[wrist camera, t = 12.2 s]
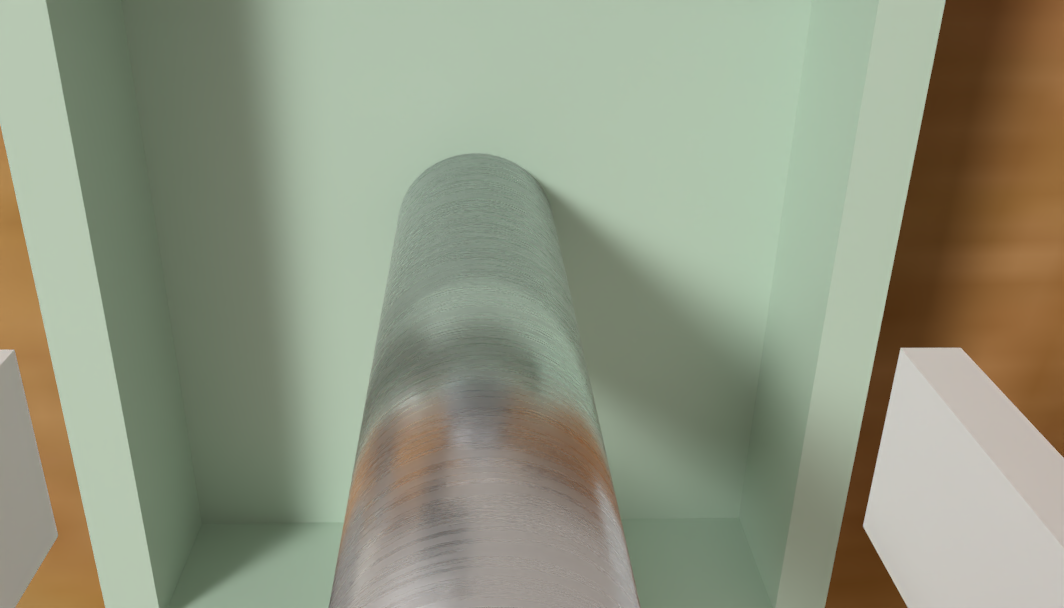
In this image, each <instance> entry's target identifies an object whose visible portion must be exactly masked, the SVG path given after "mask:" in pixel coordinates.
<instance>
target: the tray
mask: <svg viewBox="0 0 1064 608" xmlns="http://www.w3.org/2000/svg"><path fill="white" fill-rule="evenodd" d="M945 1H946V0H0V125H1V129H2V134H3V139H4V143H5V148H6V152H7V157H8V162H9V166H10V171H11V176H12V180H13V185H14V189H15V194H16V199H17V203H18V208H19V212H20V217H21V222H22V226H23V231H24V235H25V240H26V245H27V249H28V254H29V258H30V263H31V268H32V272H33V277H34V281H35V286H36V291H37V295H38V300H39V304H40V309H41V314H42V318H43V323H44V327H45V332H46V337H47V341H48V346H49V350H50V355H51V360H52V364H53V369H54V373H55V378H56V383H57V387H58V392H59V396H60V401H61V406H62V410H63V415H64V419H65V424H66V429H67V433H68V438H69V442H70V447H71V452H72V456H73V461H74V465H75V470H76V475H77V479H78V484H79V488H80V493H81V498H82V502H83V507H84V511H85V516H86V521H87V525H88V530H89V534H90V539H91V544H92V548H93V553H94V557H95V562H96V567H97V571H98V576H99V581H100V585H101V590H102V594H103V599H104V604H105V608H329V603H330V598H331V592H332V586H333V581H334V575H335V570H336V564H337V558H338V553H339V547H340V542H341V536H342V530H343V525H344V519H345V514H346V508H347V502H348V497H349V491H350V485H351V480H352V474H353V469H354V463H355V457H356V452H357V446H358V441H359V435H360V429H361V424H362V418H363V413H364V407H365V401H366V396H367V390H368V384H369V379H370V373H371V368H372V362H373V356H374V351H375V345H376V340H377V334H378V328H379V323H380V317H381V312H382V306H383V300H384V295H385V289H386V283H387V278H388V272H389V267H390V261H391V255H392V250H393V244H394V239H395V233H396V227H397V222H398V216H399V211H400V207H401V204H402V201H403V199H404V197H405V194H406V192H407V191H408V189H409V188H410V186H411V185H412V183H413V182H414V181H415V180H416V179H417V178H418V176H419V175H421V174H422V173H423V172H424V171H425V170H426V169H428V168H429V167H431V166H432V165H434V164H436V163H438V162H440V161H442V160H444V159H447V158H450V157H453V156H456V155H462V154H471V153H481V154H490V155H495V156H499V157H502V158H505V159H507V160H509V161H511V162H514V163H516V164H517V165H519V166H520V167H522V168H523V169H525V170H526V171H527V172H528V173H529V174H531V175H532V176H533V177H534V178H535V180H536V181H537V182H538V183H539V184H540V186H541V187H542V189H543V190H544V192H545V194H546V196H547V198H548V200H549V203H550V206H551V209H552V213H553V218H554V222H555V226H556V231H557V235H558V240H559V244H560V249H561V253H562V258H563V262H564V267H565V271H566V276H567V280H568V285H569V289H570V294H571V298H572V302H573V307H574V311H575V316H576V320H577V325H578V329H579V334H580V338H581V343H582V347H583V352H584V356H585V361H586V365H587V370H588V374H589V379H590V383H591V387H592V392H593V396H594V401H595V405H596V410H597V414H598V419H599V423H600V428H601V432H602V437H603V441H604V446H605V450H606V455H607V459H608V464H609V468H610V472H611V477H612V481H613V486H614V490H615V495H616V499H617V504H618V508H619V513H620V517H621V522H622V526H623V531H624V535H625V540H626V544H627V548H628V553H629V557H630V562H631V566H632V571H633V575H634V580H635V584H636V589H637V593H638V598H639V602H640V607H641V608H825V604H826V599H827V594H828V589H829V584H830V579H831V574H832V569H833V564H834V559H835V554H836V549H837V544H838V539H839V534H840V529H841V524H842V519H843V514H844V509H845V504H846V499H847V494H848V489H849V484H850V479H851V474H852V468H853V463H854V458H855V453H856V448H857V443H858V438H859V433H860V428H861V423H862V418H863V413H864V408H865V403H866V398H867V393H868V388H869V383H870V378H871V373H872V368H873V363H874V358H875V353H876V348H877V343H878V338H879V333H880V328H881V323H882V318H883V313H884V308H885V303H886V298H887V293H888V288H889V283H890V278H891V272H892V267H893V262H894V257H895V252H896V247H897V242H898V237H899V232H900V227H901V222H902V217H903V212H904V207H905V202H906V197H907V192H908V187H909V182H910V177H911V172H912V167H913V162H914V157H915V152H916V147H917V142H918V137H919V132H920V127H921V122H922V117H923V112H924V107H925V102H926V97H927V92H928V87H929V82H930V76H931V71H932V66H933V61H934V56H935V51H936V46H937V41H938V36H939V31H940V26H941V21H942V16H943V11H944V6H945Z"/></svg>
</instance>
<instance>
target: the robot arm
mask: <svg viewBox="0 0 1064 608" xmlns="http://www.w3.org/2000/svg"><path fill="white" fill-rule="evenodd" d="M863 527H864V529H865V531H866V533H867V535H868V536H869V538H870V540H871V542H872V544H873V546H874V547H875V549H876V551H877V553H878V555H879V556H880V558H881V560H882V562H883V564H884V566H885V567H886V569H887V571H888V573H889V575H890V576H891V578H892V580H893V582H894V584H895V586H896V587H897V589H898V591H899V593H900V595H901V596H902V598H903V600H904V602H905V604H906V605H907V607H908V608H1064V458H1063V457H1062V456H1061V455H1060V454H1059V452H1058V451H1057V450H1056V449H1055V448H1054V447H1053V446H1052V445H1051V444H1050V443H1049V442H1048V441H1047V440H1046V438H1045V437H1044V436H1043V435H1042V434H1041V433H1040V432H1039V431H1038V430H1037V429H1036V428H1035V427H1034V426H1033V425H1032V423H1031V422H1030V421H1029V420H1028V419H1027V418H1026V417H1025V416H1024V415H1023V414H1022V413H1021V412H1020V411H1019V410H1018V408H1017V407H1016V406H1015V405H1014V404H1013V403H1012V402H1011V401H1010V400H1009V399H1008V398H1007V397H1006V396H1005V395H1004V393H1003V392H1002V391H1001V390H1000V389H999V388H998V387H997V386H996V385H995V384H994V383H993V382H992V381H991V380H990V378H989V377H988V376H987V375H986V374H985V373H984V372H983V371H982V370H981V369H980V368H979V367H978V366H977V365H976V363H975V362H974V361H973V360H972V359H971V358H970V357H969V356H968V355H967V354H966V353H965V352H964V351H963V349H962V348H900V353H899V358H898V362H897V367H896V372H895V376H894V381H893V386H892V391H891V395H890V400H889V405H888V410H887V414H886V419H885V424H884V429H883V433H882V438H881V443H880V448H879V452H878V457H877V462H876V466H875V471H874V476H873V481H872V485H871V490H870V495H869V500H868V504H867V509H866V514H865V519H864V523H863ZM57 537H58V533H57V529H56V524H55V520H54V516H53V512H52V507H51V503H50V499H49V495H48V490H47V486H46V482H45V478H44V473H43V469H42V465H41V461H40V456H39V452H38V448H37V443H36V439H35V435H34V431H33V426H32V422H31V418H30V414H29V409H28V405H27V401H26V397H25V392H24V388H23V384H22V380H21V375H20V371H19V367H18V363H17V358H16V354H15V350H0V608H15V606H16V605H17V603H18V602H19V600H20V598H21V597H22V595H23V593H24V592H25V590H26V588H27V587H28V585H29V583H30V582H31V580H32V578H33V577H34V575H35V573H36V572H37V570H38V568H39V567H40V565H41V563H42V562H43V560H44V558H45V557H46V555H47V553H48V552H49V550H50V548H51V547H52V545H53V543H54V542H55V540H56V539H57Z"/></svg>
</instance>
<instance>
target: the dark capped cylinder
mask: <svg viewBox="0 0 1064 608" xmlns="http://www.w3.org/2000/svg"><path fill="white" fill-rule="evenodd" d="M329 608H641V607H640V602H639V598H638V593H637V589H636V584H635V580H634V575H633V571H632V566H631V562H630V557H629V553H628V548H627V544H626V540H625V535H624V531H623V526H622V522H621V517H620V513H619V508H618V504H617V499H616V495H615V490H614V486H613V481H612V477H611V472H610V468H609V464H608V459H607V455H606V450H605V446H604V441H603V437H602V432H601V428H600V423H599V419H598V414H597V410H596V405H595V401H594V396H593V392H592V387H591V383H590V379H589V374H588V370H587V365H586V361H585V356H584V352H583V347H582V343H581V338H580V334H579V329H578V325H577V320H576V316H575V311H574V307H573V302H572V298H571V294H570V289H569V285H568V280H567V276H566V271H565V267H564V262H563V258H562V253H561V249H560V244H559V240H558V235H557V231H556V226H555V222H554V218H553V213H552V209H551V206H550V203H549V200H548V198H547V196H546V194H545V192H544V190H543V189H542V187H541V186H540V184H539V183H538V182H537V181H536V180H535V178H534V177H533V176H532V175H531V174H529V173H528V172H527V171H526V170H525V169H523V168H522V167H520V166H519V165H517V164H516V163H514V162H511V161H509V160H507V159H505V158H502V157H499V156H495V155H490V154H481V153H471V154H462V155H456V156H453V157H450V158H447V159H444V160H442V161H440V162H438V163H436V164H434V165H432V166H431V167H429V168H428V169H426V170H425V171H424V172H423V173H422V174H421V175H419V176H418V178H417V179H416V180H415V181H414V182H413V183H412V185H411V186H410V188H409V189H408V191H407V192H406V194H405V197H404V199H403V201H402V204H401V207H400V211H399V216H398V222H397V227H396V233H395V239H394V244H393V250H392V255H391V261H390V267H389V272H388V278H387V283H386V289H385V295H384V300H383V306H382V312H381V317H380V323H379V328H378V334H377V340H376V345H375V351H374V356H373V362H372V368H371V373H370V379H369V384H368V390H367V396H366V401H365V407H364V413H363V418H362V424H361V429H360V435H359V441H358V446H357V452H356V457H355V463H354V469H353V474H352V480H351V485H350V491H349V497H348V502H347V508H346V514H345V519H344V525H343V530H342V536H341V542H340V547H339V553H338V558H337V564H336V570H335V575H334V581H333V586H332V592H331V598H330V603H329Z"/></svg>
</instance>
